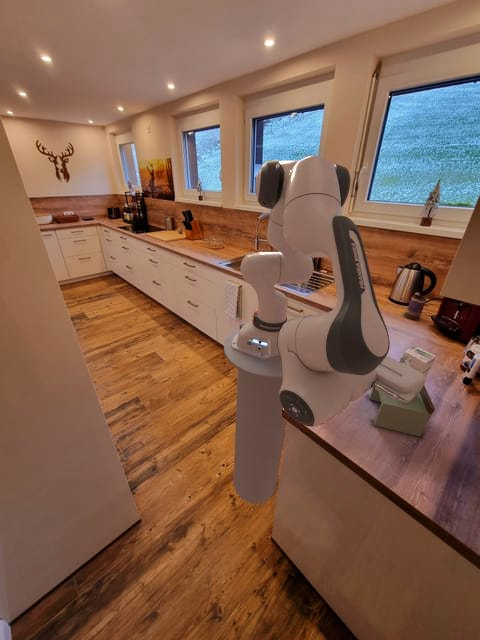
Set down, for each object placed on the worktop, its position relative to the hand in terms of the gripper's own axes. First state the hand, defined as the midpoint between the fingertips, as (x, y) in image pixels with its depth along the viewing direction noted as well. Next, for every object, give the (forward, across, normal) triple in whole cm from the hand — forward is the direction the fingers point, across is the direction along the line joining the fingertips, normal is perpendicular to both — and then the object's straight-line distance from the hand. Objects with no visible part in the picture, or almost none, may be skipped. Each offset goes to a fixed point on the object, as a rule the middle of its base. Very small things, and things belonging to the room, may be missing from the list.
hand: (384, 349), depth 58 cm
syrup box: (+17, -3, +21) cm, 27 cm away
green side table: (+17, -3, +30) cm, 35 cm away
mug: (+94, +24, +30) cm, 102 cm away
